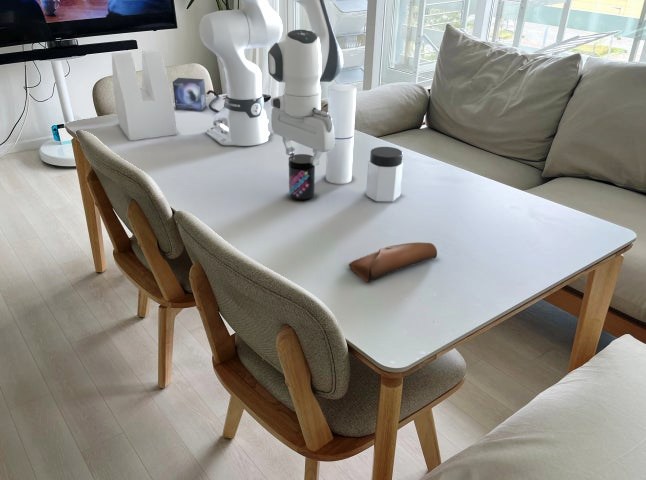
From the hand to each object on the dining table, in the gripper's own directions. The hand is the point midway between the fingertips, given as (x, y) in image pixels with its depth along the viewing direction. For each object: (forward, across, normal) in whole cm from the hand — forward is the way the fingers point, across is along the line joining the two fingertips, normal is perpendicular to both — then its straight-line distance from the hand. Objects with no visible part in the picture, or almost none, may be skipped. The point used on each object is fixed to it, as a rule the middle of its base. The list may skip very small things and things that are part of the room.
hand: (302, 159), depth 148 cm
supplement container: (+10, 0, 0) cm, 10 cm away
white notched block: (+10, +77, +4) cm, 78 cm away
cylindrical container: (+10, +3, -16) cm, 19 cm away
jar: (+10, -13, -17) cm, 24 cm away
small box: (+10, +90, -21) cm, 93 cm away
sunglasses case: (+10, -39, +8) cm, 41 cm away
